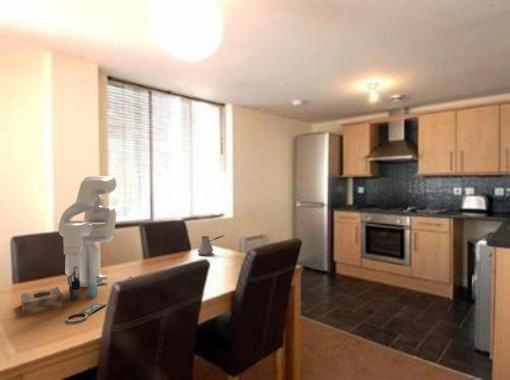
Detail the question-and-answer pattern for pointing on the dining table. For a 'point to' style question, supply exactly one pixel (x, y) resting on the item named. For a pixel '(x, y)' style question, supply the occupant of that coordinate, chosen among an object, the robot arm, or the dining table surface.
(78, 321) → the grey ring with handle
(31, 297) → the hole block
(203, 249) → the coffee pot
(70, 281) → the tall pin
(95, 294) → the short pin
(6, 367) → the dining table surface
